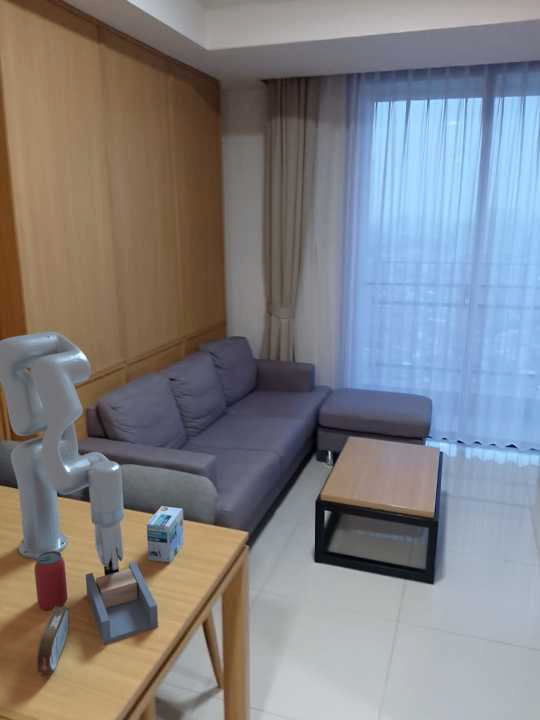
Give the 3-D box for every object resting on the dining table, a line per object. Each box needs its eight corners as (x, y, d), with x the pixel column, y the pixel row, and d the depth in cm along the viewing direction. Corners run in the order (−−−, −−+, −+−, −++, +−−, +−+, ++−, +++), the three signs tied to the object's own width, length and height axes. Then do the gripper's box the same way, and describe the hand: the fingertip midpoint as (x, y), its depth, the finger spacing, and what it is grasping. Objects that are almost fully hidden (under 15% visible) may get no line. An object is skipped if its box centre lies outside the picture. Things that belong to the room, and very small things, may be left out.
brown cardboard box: (97, 594, 134) (95, 578, 133) (131, 584, 138) (130, 568, 137) (102, 609, 129) (101, 592, 128) (137, 598, 133) (136, 582, 132)
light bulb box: (171, 563, 149) (169, 526, 146) (147, 560, 150) (145, 524, 148) (184, 542, 159) (183, 507, 157) (162, 539, 160) (161, 505, 158)
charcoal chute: (87, 594, 136) (85, 574, 135) (136, 580, 141) (135, 561, 140) (103, 644, 120) (101, 622, 118) (158, 626, 125) (157, 605, 124)
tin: (58, 630, 124) (55, 597, 122) (73, 629, 124) (70, 596, 122) (36, 683, 109) (33, 647, 107) (53, 683, 110) (49, 646, 108)
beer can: (37, 597, 135) (33, 553, 132) (66, 590, 137) (62, 547, 135) (38, 614, 129) (33, 568, 126) (68, 607, 131) (64, 561, 129)
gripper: (85, 503, 138) (90, 569, 143) (97, 531, 126) (103, 602, 130) (116, 496, 142) (120, 561, 146) (131, 523, 129) (135, 593, 133)
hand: (112, 580), depth 138 cm, fingers closed
